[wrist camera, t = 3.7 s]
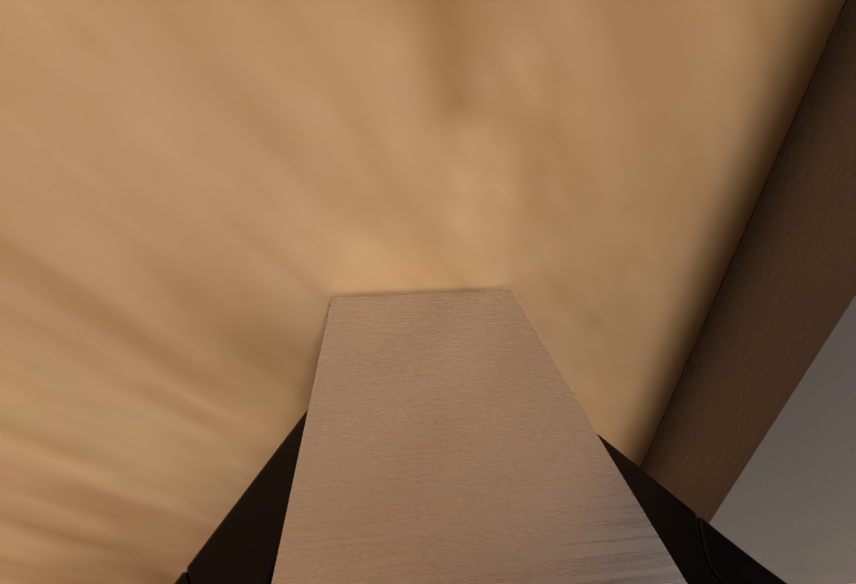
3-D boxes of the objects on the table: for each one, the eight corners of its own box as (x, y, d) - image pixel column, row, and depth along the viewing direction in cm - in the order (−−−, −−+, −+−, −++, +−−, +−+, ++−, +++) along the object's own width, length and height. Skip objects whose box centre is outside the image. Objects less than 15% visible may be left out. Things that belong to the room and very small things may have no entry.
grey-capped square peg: (498, 419, 11) (647, 848, 5) (340, 431, 10) (288, 921, 4) (519, 282, 9) (832, 744, 3) (321, 289, 8) (166, 867, 2)
